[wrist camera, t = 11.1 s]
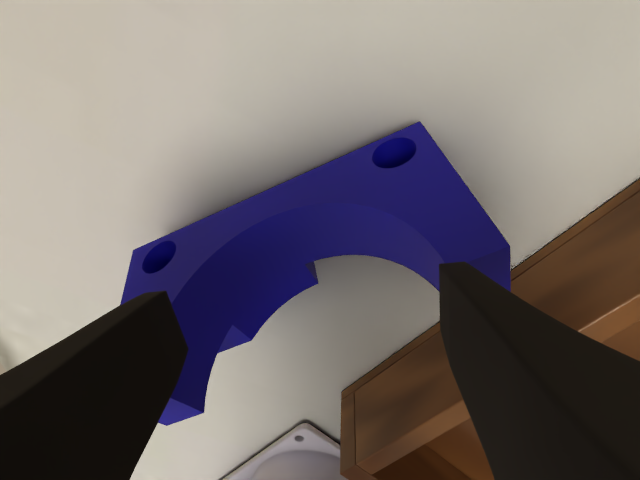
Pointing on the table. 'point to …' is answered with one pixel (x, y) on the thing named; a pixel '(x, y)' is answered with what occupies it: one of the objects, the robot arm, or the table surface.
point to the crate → (436, 375)
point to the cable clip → (311, 246)
